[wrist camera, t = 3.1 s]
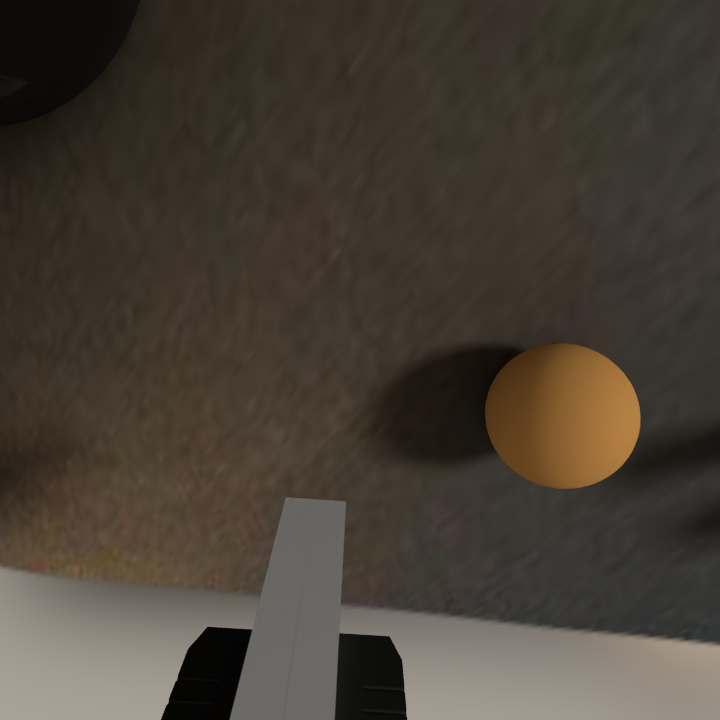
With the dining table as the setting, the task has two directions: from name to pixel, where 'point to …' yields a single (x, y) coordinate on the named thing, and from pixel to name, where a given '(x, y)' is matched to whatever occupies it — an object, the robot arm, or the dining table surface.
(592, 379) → the ball
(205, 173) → the dining table surface
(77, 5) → the robot arm
